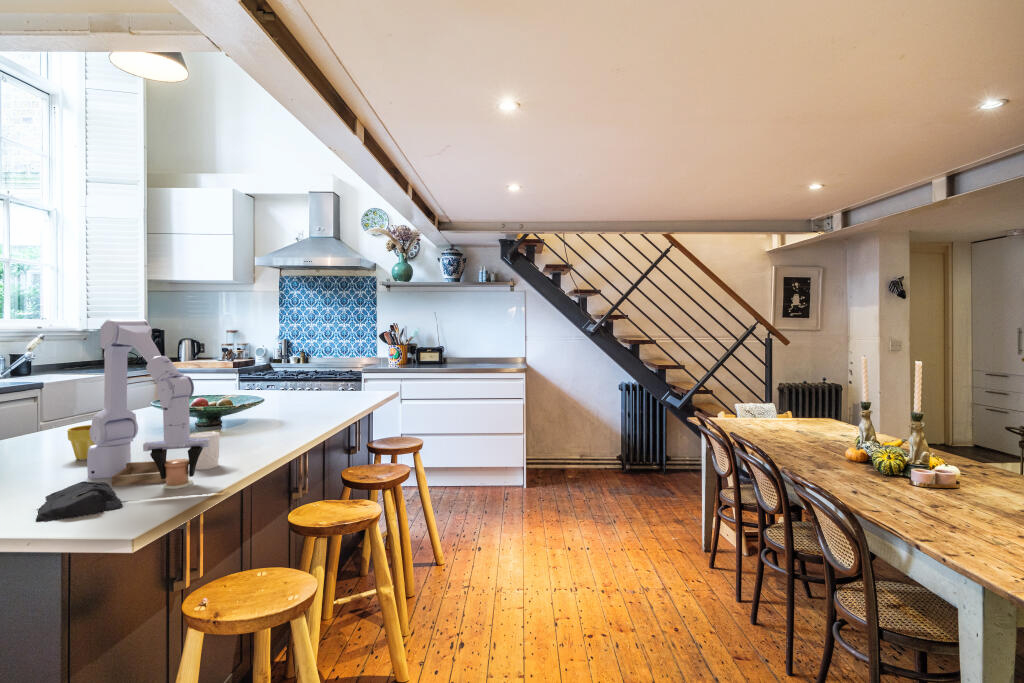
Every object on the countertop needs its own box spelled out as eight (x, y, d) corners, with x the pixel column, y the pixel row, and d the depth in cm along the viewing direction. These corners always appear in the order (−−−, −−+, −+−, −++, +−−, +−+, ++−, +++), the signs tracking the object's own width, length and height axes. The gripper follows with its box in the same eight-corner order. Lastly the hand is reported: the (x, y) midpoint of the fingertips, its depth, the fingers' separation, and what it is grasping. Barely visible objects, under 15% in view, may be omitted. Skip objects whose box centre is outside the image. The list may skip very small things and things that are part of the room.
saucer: (156, 493, 136) (156, 489, 136) (165, 484, 144) (165, 480, 144) (191, 490, 139) (191, 486, 139) (198, 481, 146) (198, 478, 146)
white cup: (226, 465, 163) (225, 431, 163) (209, 472, 156) (208, 437, 155) (201, 464, 164) (200, 431, 164) (183, 471, 156) (182, 436, 156)
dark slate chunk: (118, 489, 142) (117, 470, 142) (123, 511, 124) (122, 490, 124) (39, 501, 132) (39, 481, 132) (33, 527, 115) (32, 504, 115)
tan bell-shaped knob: (162, 486, 138) (162, 465, 138) (166, 480, 143) (166, 459, 143) (188, 485, 140) (188, 463, 140) (191, 478, 145) (191, 458, 145)
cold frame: (112, 488, 141) (111, 472, 141) (127, 477, 151) (127, 462, 151) (174, 483, 145) (174, 468, 145) (185, 472, 155) (185, 458, 155)
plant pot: (92, 461, 169) (92, 430, 169) (59, 462, 169) (58, 430, 169) (117, 454, 179) (116, 424, 179) (86, 454, 179) (85, 424, 179)
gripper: (138, 428, 135) (139, 483, 135) (204, 424, 139) (206, 478, 139) (147, 423, 141) (149, 476, 142) (210, 420, 146) (212, 471, 146)
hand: (177, 476), depth 141 cm, fingers open, 6 cm apart
